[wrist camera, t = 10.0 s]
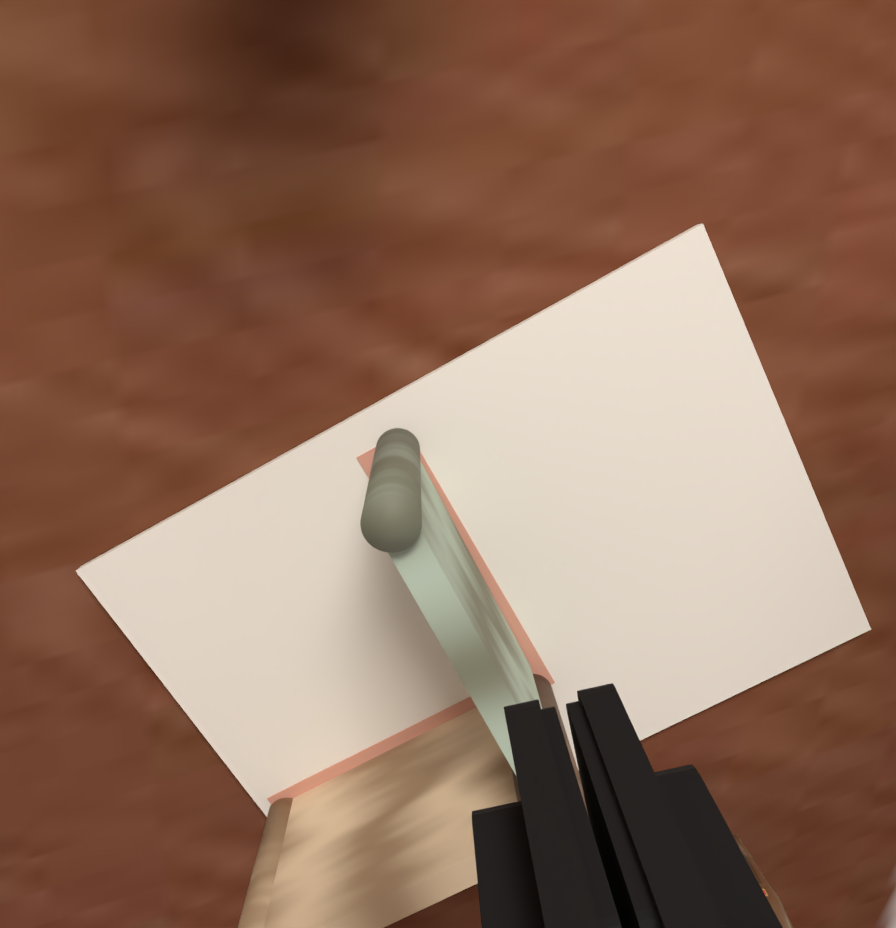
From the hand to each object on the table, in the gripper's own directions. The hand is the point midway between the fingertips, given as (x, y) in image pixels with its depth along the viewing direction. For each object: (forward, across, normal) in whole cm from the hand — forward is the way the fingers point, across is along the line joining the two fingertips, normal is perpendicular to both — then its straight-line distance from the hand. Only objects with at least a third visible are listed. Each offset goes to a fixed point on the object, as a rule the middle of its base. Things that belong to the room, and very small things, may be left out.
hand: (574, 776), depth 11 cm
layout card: (+20, +1, +7) cm, 21 cm away
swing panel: (+19, +2, +5) cm, 20 cm away
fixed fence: (+19, +6, +14) cm, 25 cm away
